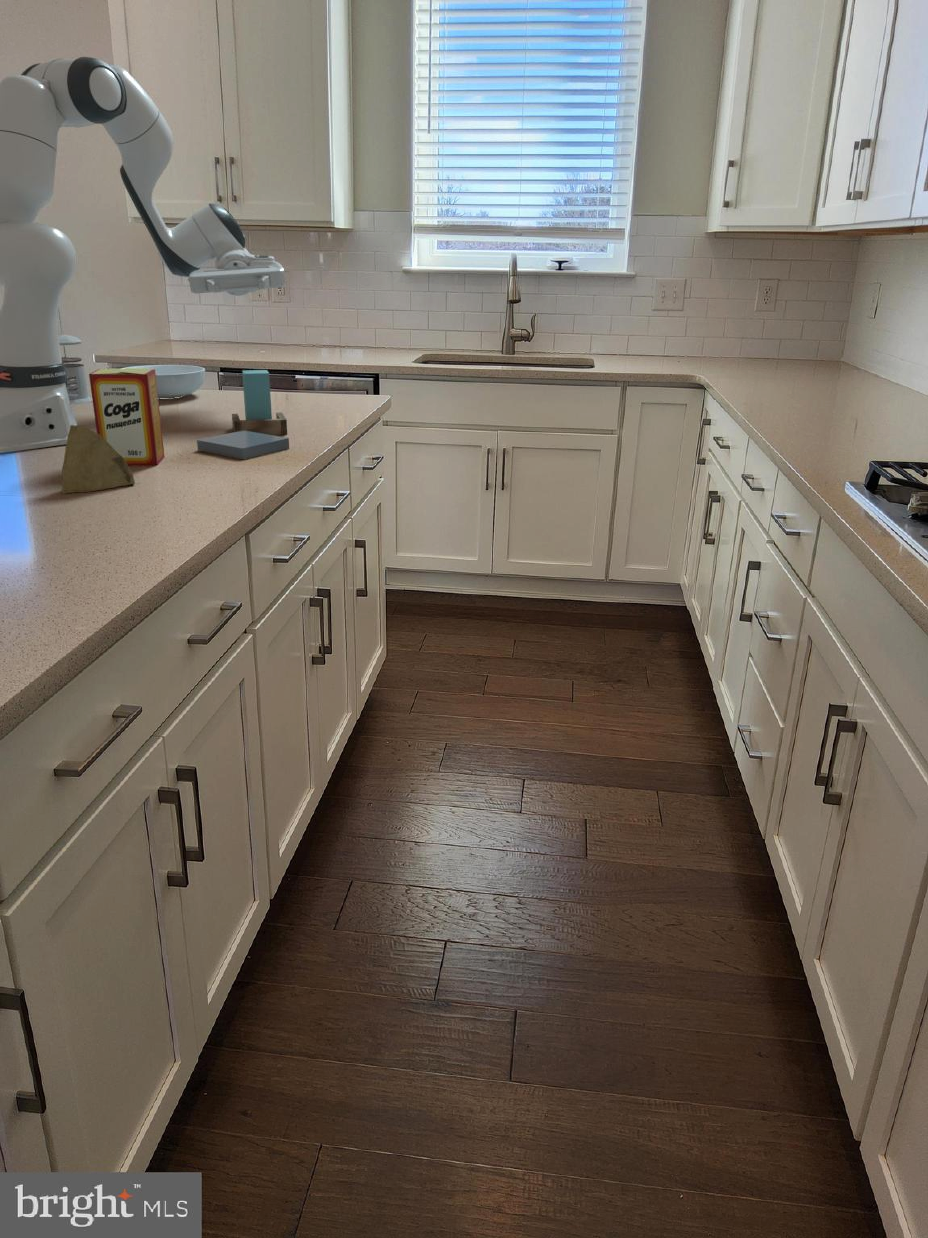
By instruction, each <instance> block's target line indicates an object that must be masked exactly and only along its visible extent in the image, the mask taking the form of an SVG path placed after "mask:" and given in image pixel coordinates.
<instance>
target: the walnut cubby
mask: <svg viewBox="0 0 928 1238" xmlns="http://www.w3.org/2000/svg"><path fill="white" fill-rule="evenodd" d="M275 415H276V418H272V419H262V420H246V419H240V416H239V414H238V413H231V421H232V422H231V423H232V430H233V433H234V432H239V431H243V430H245V431H251V432H256V433H262V434H268V435H274V436H281V435H283V436H284V435H288V425H287V418H286V417H285V415H284V413H283V412H281V411H279V412H276V414H275Z"/></svg>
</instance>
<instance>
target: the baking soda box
mask: <svg viewBox="0 0 928 1238" xmlns="http://www.w3.org/2000/svg"><path fill="white" fill-rule="evenodd" d="M125 368H126V367H125ZM88 377H89V383H90V384H89V385H90V392H91V398H92V400H93V401H92V405H93V406H92V407H93V413H94V421H95V428H96V433H98V434H99V435H101V436H102V437H104V439H105V440H106V441H107V442H108V443H109V444H110V445H111V446H112V447H113V449H114V450H115V451H116V452H117V453H118V454H119V455H121V456H122V457H123V458H124V459H125V461H126V463H127V465H128V467H131V466H135V467H137V466H139V467H141V466H144V467H145V466H147V467H148V466H149V467H150V466H151V467H153V466H156V467H157V466H159V464H160V463H161V462H162V461H163V460H164V459H165V449H164V448H165V447H164V440H163V439H164V438H163V431H162V422H161V421H162V420H161V412H160V411H161V410H160V403H159V402H160V400H158V392H157V383H156V373H155V369H134V368H126V369H121V368H98V369H96V370H94V371H92V372H90V373H89V374H88Z"/></svg>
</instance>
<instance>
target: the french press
mask: <svg viewBox="0 0 928 1238" xmlns="http://www.w3.org/2000/svg"><path fill="white" fill-rule="evenodd" d="M58 316H59V317H58V318H59V324H60V332H61V333H60V334H58V335H59V344H60V346H63V352H64V357H63V356H61V359H62V362H63V363H64V364H65V370H66V375H67V393H68V397H69V401H70V405H71V404H74V405H75V404H83V403H84V404H85V403H89V402H93V401H92V396H89V391H88V384H87V379H86V370H85V365H84V364H81V363H80V362H81V361H82V357H79V356H75V357H74V356H67V355H66V348H65V346H71V345H73V346H74V345H75V346H76V345H79V344H82V340H81V339H80V338H78V337H76V336H73V335H69V334H64V333H63V327H62V320H61V312H60V306H59V307H58Z"/></svg>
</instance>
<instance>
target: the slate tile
mask: <svg viewBox="0 0 928 1238" xmlns="http://www.w3.org/2000/svg"><path fill="white" fill-rule="evenodd" d="M196 443H197V451H198V452H203V453H209V454H214V455H220V456H222V457H223V456H224V457H229V458H233V457H235V459H239V460H247V459H250V458H249V457H251V458H255V457H259V456H263V455H264V456H265V455H268V454H271V453H276V452H279V451H285V450H288V449H290V439H289V437H284V436H280V435H268V434H262V433H256V432H251V431H245V430H243V431H239V432H234V431H233V432H228V433H224V434H219V435H214V436H210V437H205V438H200V439H197V440H196ZM246 458H247V459H246Z"/></svg>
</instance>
